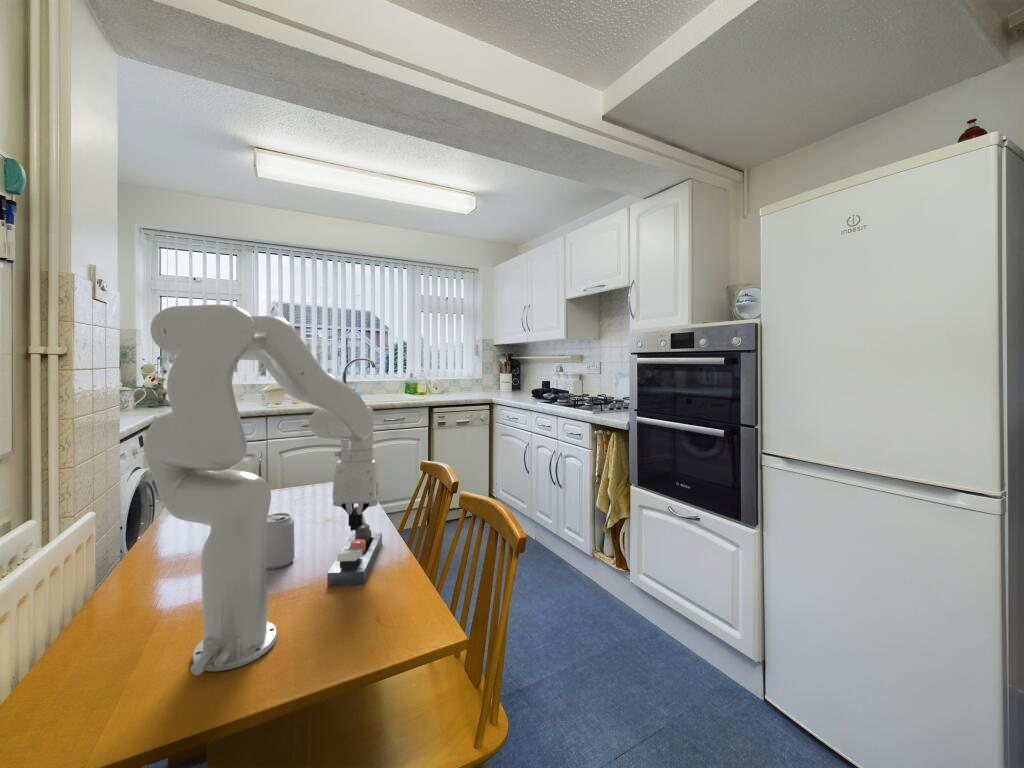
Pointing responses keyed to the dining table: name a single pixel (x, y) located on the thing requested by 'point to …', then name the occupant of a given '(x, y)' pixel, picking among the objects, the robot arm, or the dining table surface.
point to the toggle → (362, 516)
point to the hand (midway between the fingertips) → (355, 528)
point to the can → (279, 540)
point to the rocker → (349, 555)
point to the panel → (355, 564)
